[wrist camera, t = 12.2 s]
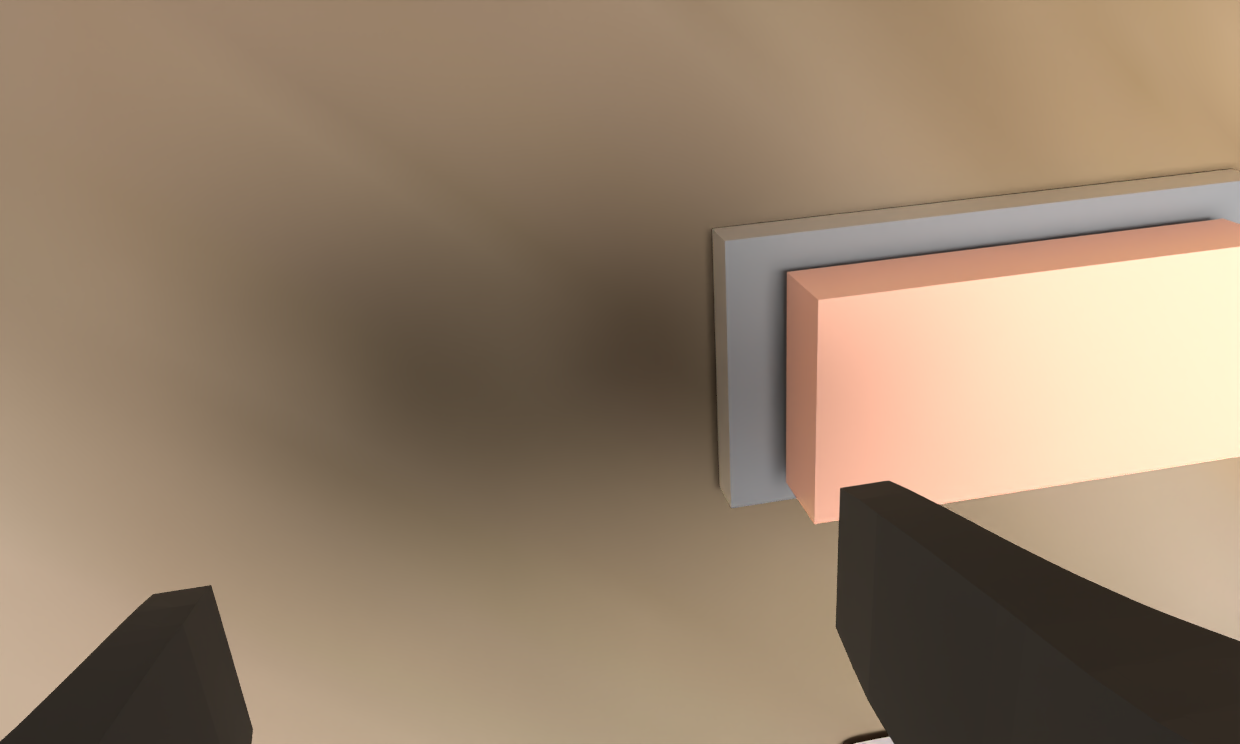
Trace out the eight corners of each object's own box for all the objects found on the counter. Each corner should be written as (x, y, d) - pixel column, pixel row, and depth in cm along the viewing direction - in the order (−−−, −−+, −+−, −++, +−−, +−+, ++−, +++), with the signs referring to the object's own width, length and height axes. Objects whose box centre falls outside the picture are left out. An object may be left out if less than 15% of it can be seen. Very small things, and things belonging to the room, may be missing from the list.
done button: (1184, 421, 23) (1241, 456, 22) (786, 482, 22) (814, 524, 20) (1223, 218, 21) (1289, 240, 20) (787, 271, 20) (818, 300, 18)
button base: (1184, 416, 25) (1213, 433, 24) (719, 487, 23) (731, 508, 22) (1232, 169, 22) (1265, 177, 21) (712, 228, 21) (725, 241, 20)
